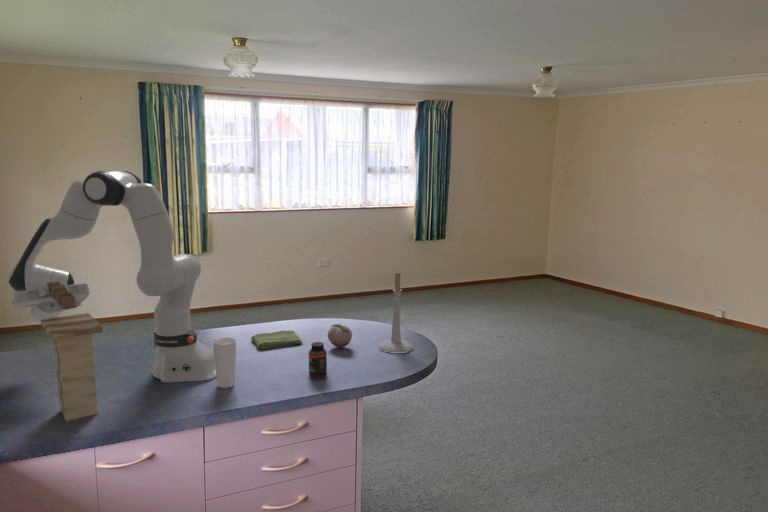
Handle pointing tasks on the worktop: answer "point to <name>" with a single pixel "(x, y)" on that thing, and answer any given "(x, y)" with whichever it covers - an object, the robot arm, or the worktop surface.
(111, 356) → the worktop surface
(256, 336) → the washcloth
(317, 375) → the supplement bottle
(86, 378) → the stand
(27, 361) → the worktop surface
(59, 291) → the block
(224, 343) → the drinking glass
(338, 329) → the decorative fruit
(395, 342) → the candlestick
